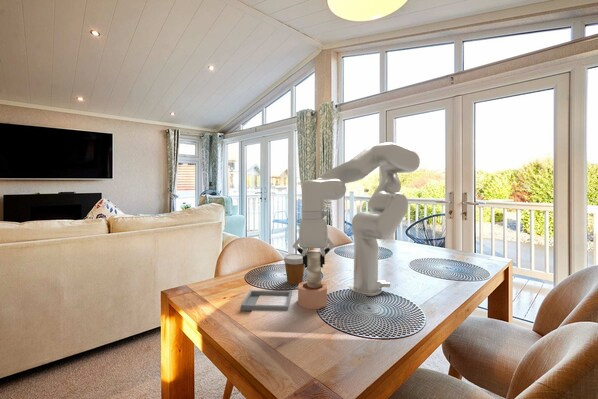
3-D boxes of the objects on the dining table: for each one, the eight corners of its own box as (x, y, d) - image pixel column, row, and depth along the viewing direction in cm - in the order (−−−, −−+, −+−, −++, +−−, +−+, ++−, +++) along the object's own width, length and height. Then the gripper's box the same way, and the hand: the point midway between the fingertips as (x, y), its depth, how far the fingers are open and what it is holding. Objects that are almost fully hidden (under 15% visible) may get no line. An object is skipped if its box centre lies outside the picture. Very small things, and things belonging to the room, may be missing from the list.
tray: (291, 296, 108) (291, 291, 108) (288, 312, 95) (288, 306, 95) (250, 295, 109) (250, 290, 109) (241, 311, 96) (241, 305, 96)
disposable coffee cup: (303, 289, 116) (303, 260, 115) (281, 287, 118) (281, 258, 117) (307, 280, 125) (307, 254, 124) (286, 279, 127) (286, 253, 126)
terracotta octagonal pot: (326, 299, 106) (326, 281, 105) (327, 312, 96) (327, 291, 95) (299, 298, 106) (299, 280, 106) (297, 311, 96) (297, 291, 96)
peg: (321, 282, 103) (320, 250, 102) (321, 287, 98) (320, 253, 97) (307, 282, 103) (306, 250, 102) (306, 287, 99) (306, 253, 98)
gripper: (336, 213, 102) (337, 263, 103) (289, 214, 103) (290, 263, 105) (338, 216, 94) (338, 270, 96) (287, 217, 96) (288, 269, 97)
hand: (313, 265), depth 100 cm, fingers closed on peg, 4 cm apart
